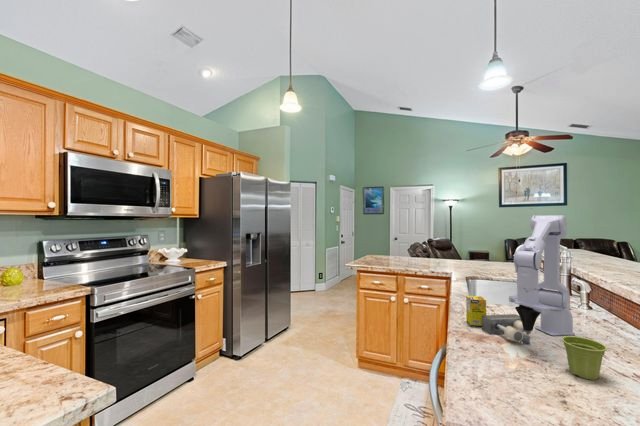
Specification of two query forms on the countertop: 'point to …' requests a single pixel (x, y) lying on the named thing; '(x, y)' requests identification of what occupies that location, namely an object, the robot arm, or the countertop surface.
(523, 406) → the countertop surface
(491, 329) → the panel
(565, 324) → the robot arm
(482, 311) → the supplement box
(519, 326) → the knob
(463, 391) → the countertop surface
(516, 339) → the knob
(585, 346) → the plant pot
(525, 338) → the potentiometer
